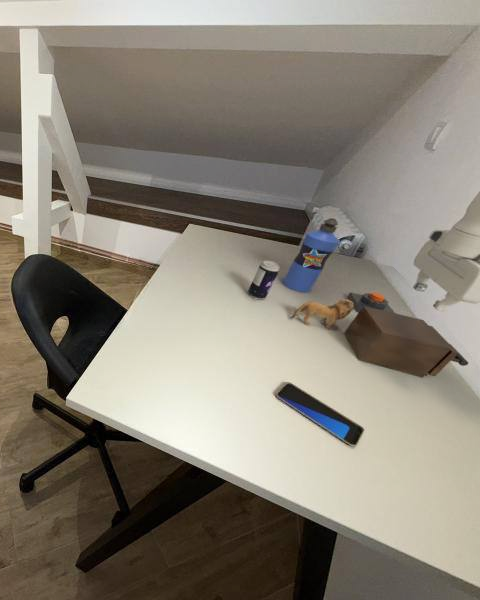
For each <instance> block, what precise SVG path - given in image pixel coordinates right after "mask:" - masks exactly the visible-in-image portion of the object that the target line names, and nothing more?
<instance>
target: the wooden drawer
mask: <svg viewBox="0 0 480 600" xmlns="http://www.w3.org/2000/svg"><path fill="white" fill-rule="evenodd" d="M429 326H430V327H431V329H432V330H433V331H434V332H435V333H436V334H437V335H438V336H439V337H440V338H441V339H442V340H443V341H444V342H445V343H446V344H447V345H448V346H449V347H450V348H451V350H450V351H449V352H448V353H447V354H446V355H445V356H444V357H443V358H442V359H441V360H440V361H439V362H438V363H437V364H436V365H435V366H434V367H433V368H432V369H431V370H430V371H429V372H428V373H427V375H428V376H430V377H431V376H433V377H436V376H437V375H438V374H439V373H440V372H441V371H442V370H443V369H445V367H447V365H449V363H451V362H453V363H454V362H455V363H458V365H459V366H462V367H465V366H468V365H469V361H468V360H467V359H466V358H465V357H464V356H463V354H461V353H460V352H459V351H458V350H457V348H455V347H454V346H453V345H452V344H451V343H449V342H448V341H447V339H445V338H444V337H443V336H442V335H441V334H440V333H439V331H437V330H436V328H435V327H434V326H432V325H429Z"/></svg>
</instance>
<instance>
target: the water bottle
mask: <svg viewBox="0 0 480 600" xmlns="http://www.w3.org/2000/svg"><path fill="white" fill-rule="evenodd" d="M323 222H324V223H321V225H320V226H319V229H318V230H313V231H307V233H306V235H305V237H304V238H303V240H302V244H301V247H300V249H299V252H298V254H297V255H296V257H294V259H293V261H292V262H291V264H290V265H289V266H290V267H289V268H288V270H287V272H286V275H285V276H284V278H283V280H282V284H283V285H284V286H285V287H286V288H288V289H290V290H293V291H295V292H299V293H309V292H311V291H312V289H313V287H314V286H315V284H316V282H317V280H318V279H319V277H320V275H321V273H322V272H323V271H324V267H325V265H326V262H327V261H328V259H329V257H330V256H331V255H332V253H333V252H335V250H336V249H337V247H338V246H339V244H340V242H341V241H340V238H338V237H337V236H335V235H334V233H335V232H336V230H337V229H338V227H337V226H338V225H339V223H338V221H337V219H336V218H331V217H330V218H327V219H325V220H323Z"/></svg>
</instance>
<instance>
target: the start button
mask: <svg viewBox="0 0 480 600" xmlns="http://www.w3.org/2000/svg"><path fill="white" fill-rule="evenodd" d="M370 294H371V295H370V296H369V298H370V299H372V300H374V301H377V302H383V300H384V299H386V296H385V295H384V294H382V293H379V292H375V291H374V292H371V293H370Z"/></svg>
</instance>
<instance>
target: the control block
mask: <svg viewBox="0 0 480 600" xmlns="http://www.w3.org/2000/svg"><path fill="white" fill-rule="evenodd" d="M370 295H371V293H369V292H368V293H367V292H365V293H364V294H360V293H355V292H349V293H348V295H347V297H346V298H347V299H348V300H350V301H352V302H353V303H354V305H353V306H354V307H353V310H355V312H356V313H357V314H358V313H359V312H360V310H361V309H362V307H363V306H366V307H370V308H374V309H379V310H383V311H387V312H391V313H396V312H395V310H393V308H392V307H391V306H390V305H389V304H390V303H389V301H388V300H387V299H386V298H385V299H384V300H383V302H377V301H374V300H372V299H370V298H369V296H370Z"/></svg>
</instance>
